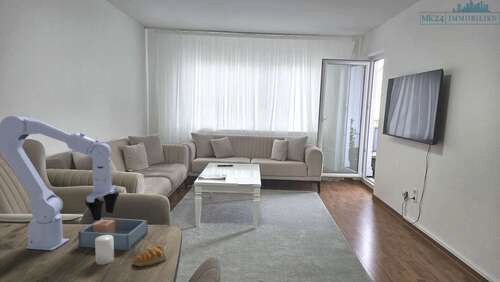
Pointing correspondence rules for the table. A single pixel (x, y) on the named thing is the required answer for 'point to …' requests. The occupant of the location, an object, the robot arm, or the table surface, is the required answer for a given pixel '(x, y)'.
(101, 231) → the cube
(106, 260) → the white egg shape
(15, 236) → the table surface
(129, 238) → the tote
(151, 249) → the pastry
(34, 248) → the robot arm
